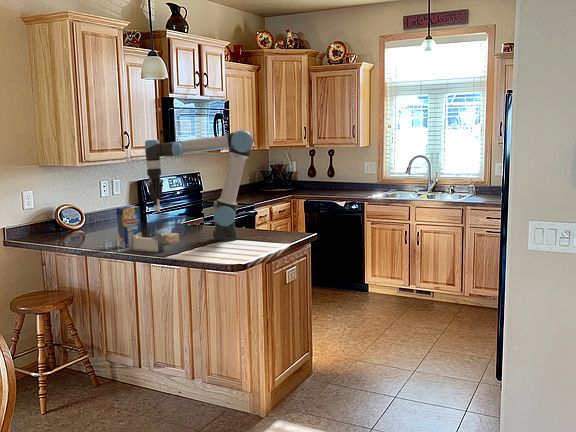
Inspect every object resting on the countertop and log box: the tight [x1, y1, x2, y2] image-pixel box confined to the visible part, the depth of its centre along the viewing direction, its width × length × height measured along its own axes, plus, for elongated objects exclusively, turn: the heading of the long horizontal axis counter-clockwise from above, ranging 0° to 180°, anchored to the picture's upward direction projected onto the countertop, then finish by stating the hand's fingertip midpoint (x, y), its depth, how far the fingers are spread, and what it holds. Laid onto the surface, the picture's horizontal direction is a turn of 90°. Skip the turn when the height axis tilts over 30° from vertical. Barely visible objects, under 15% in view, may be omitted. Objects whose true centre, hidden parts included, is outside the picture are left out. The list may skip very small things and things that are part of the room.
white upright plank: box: [133, 235, 158, 250], centre depth 316 cm, size 15×2×7 cm, turn 66°
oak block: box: [163, 232, 180, 245], centre depth 338 cm, size 8×8×5 cm
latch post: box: [128, 232, 135, 252], centre depth 319 cm, size 2×3×10 cm, turn 159°
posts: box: [133, 232, 165, 253], centre depth 315 cm, size 19×3×10 cm, turn 69°
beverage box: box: [115, 205, 143, 249], centre depth 330 cm, size 7×11×22 cm, turn 138°
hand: (157, 210), depth 323 cm, fingers closed
